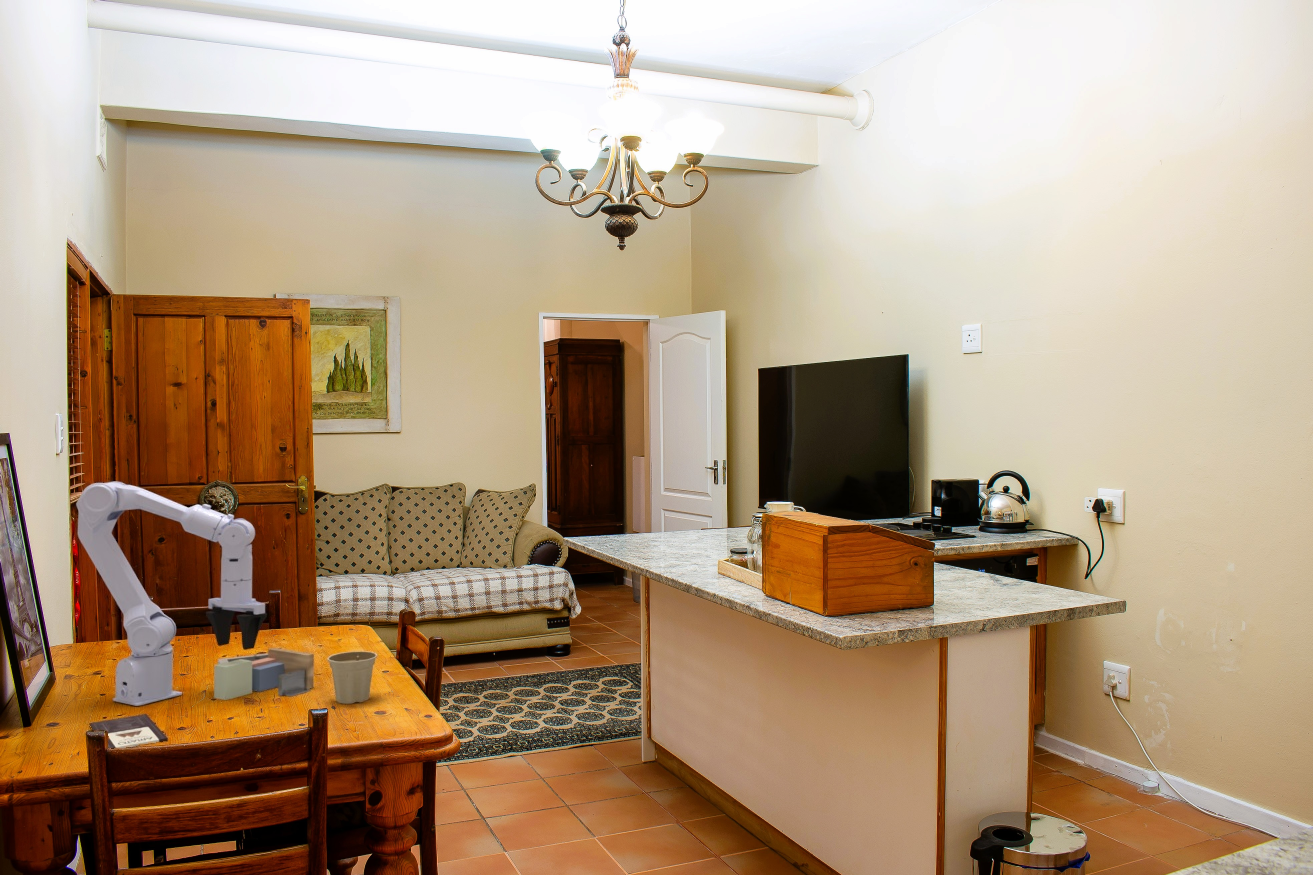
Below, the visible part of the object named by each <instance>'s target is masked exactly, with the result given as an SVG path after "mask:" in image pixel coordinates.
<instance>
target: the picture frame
mask: <svg viewBox="0 0 1313 875" xmlns="http://www.w3.org/2000/svg"><path fill="white" fill-rule="evenodd" d="M264 658H268V653H261V654H251V655H242V656H234V657H225V658H218V659H217V664H222V663H226V662H230V661H235V660H239V659H243V660H249V661H256V660H260V659H264Z"/></svg>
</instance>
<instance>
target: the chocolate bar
mask: <svg viewBox="0 0 1313 875" xmlns="http://www.w3.org/2000/svg"><path fill="white" fill-rule="evenodd" d="M88 725H90V726H91V728H92V730H106V731H107V732H108V736H109V740H108V748H111V749H114V748H126V747H133V748H137V747H136V746H138V747H143V746H145V745H140V746H139V744H148V743H155V744H157V743H156V742H161V743H164V742H163V741H166V742H168V741H169V738H168V736H167V735H166V734H165V733H164V732H163V731H162V729H160V727H159V726H157V725H158V724H156V723H155V721H153V720H152V719H151V718H150V716H149V715H148V714H147V713H143V714H138V715H130V716H125V717H120V718H118V717H117V718H112V719H107V720H100V721H93V722H89V723H88ZM90 726H89V727H90ZM91 728H90V729H91ZM92 730H91V731H92Z"/></svg>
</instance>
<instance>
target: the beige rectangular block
mask: <svg viewBox="0 0 1313 875" xmlns="http://www.w3.org/2000/svg"><path fill="white" fill-rule="evenodd" d="M213 678H214V679H213V680H214V682H213V685H214V686H213V687H214V688H213V695H214V696H213V698H214V699H218V700H223V701H227V700H231V699H235V698H238V697H243V696H246V695H249V694H252V693H253V690H252V661H249V660H243V659H239V660H235V661H230V662H226V663H222V664H218V663H217V664H214V676H213Z"/></svg>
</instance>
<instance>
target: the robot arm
mask: <svg viewBox="0 0 1313 875" xmlns="http://www.w3.org/2000/svg"><path fill="white" fill-rule="evenodd" d="M75 505H76V508H77V510H78V516H77V517H78V518H77V537H78V539H79V541H80V543H81V544H82V546H83V548H84V549H85V551H86V553H87V554H88V556H89V558H90V560H91V562H92V563H93V565H94V567H95V568H96V570H97V571H98V573H99V575H100V576H101V578H102V580H103V582H104V584H105V586H106V587H107V589H108V590H109V592H110V594H111V595H112V597H113V599H114V600H115V602H116V605H117V606H118V608H119V609H120V611H121V612H122V614H123V628H124V629H125V631H126V634H127V645H128V647H129V649H130V650H131V651H130V652H131V653H130V655H128V657H125V658H122V659H120V660H119V661H118V663H117V665H116V668H115V697H114V698H112V701H113V702H117V703H122V704H126V705H129V706H130V705H132V706H135V707H138V706H143V705H147V704H151V703H154V702H155V703H156V702H159V701H163V700H167V699H171V698H174V697H178V696H182V695H183V692H182V691H177V690H173V667H174V666H173V663H174V662H173V658H174V657H173V655H174V654H173V653H174V650H173V649H174V648H173V646H172V644H171V642H172V641H173V640H174V638H175V636H176V633H177V626H176V623H175V622H174V620H173V619H172V618H171V617H169V616H168V615H166V614H164V612H163V611H162V609H161V608H160V607H159V605H157V604H156V603H154V602H153V601H152V600H151V599H150V597H149V595H148V594H147V591H146V590H145V589H144V587H143V585H142V583H141V582H140V580H139V579H138V577H137V575H136V573H135V571H134V569H133V568H132V566H131V564H130V562H129V561H128V560H127V557H126V556H125V554H124V553H123V550H122V549H121V547H120V545H119V543H118V542H117V541H116V540H117V539H116V538H115V537H114V535H113V534H112V533H113V530H114V527H115V525H116V523H117V521H118V519H119V518H120V516H121V515H122V514H123V513H124V512H125V511H128V510H142V511H146V512H149V513H152V514H155V515H157V516H160V517H163V518H166V519H170V520H173V521H176V522H178V523H180V524H181V526H182V528H183V530H184V532H187V533H190V534H193V535H194V536H198V537H201V538H203V539H206V540H209V541H211V542H213V543H218V544H219V545H220V546H221V565H220V566H221V567H220V568H221V569H220V570H221V571H220V572H221V573H220V597H214V598H208V609H210V610H209V611H206V612H205V616H206V618H207V619H208V620H209V622H210V624H211V626H212V629H213V633H214V636H215V639H216V643H217V645H218V646H219V647H221V646H225V645H229V644H230V640H231V630H232V625H233V624H232V623H233V619H234V616H235V613H236V612H241V613H242V614H237V615H236V619H237V621H238V623H239V627H240V628H239V629H240V632H241V645H242V648H243V649H242V650H251V649H254V648H255V646H256V643H257V638H258V635H259V632H260V630H261V627H262V626H263V624H264V621H265V620H266V619H267V616H268V615H267V614H268V613H267V612H266V603H264V602H260V601H257V600H256V598H253V554H252V552H253V549H252V548H253V544H251V543H252V542H253V540H254V539H255V536H256V530H255V527H254V526H253V524H252V523H251V522H250V521H248V520H246V519H245V518H235V515H234V514H231V513H228V514H227V515H226V514H225V513H222V512H219V511H217V510H213V509H211V508H212V505H210V504H207V503H204V504H202V505H201V504H195V505H192V506H190V507H187V506H185V505H183V504H181V503H179V502H175V501H173V500H172V499H169V498H166V497H164V496H162V495H159V494H156V493H154V492H152V491H149V490H146V489H145V488H142V487H139V486H135V485H131V484H126V483H123V482H122V481H116V480H115V481H109V482H104V483H103V482H96V483H95V482H94V483H91V484H90V485H88V486H86V487H85V488H84V490H82V493H81V494H80V496H79V498H78V500H77V501H76V503H75ZM234 518H235V519H234Z"/></svg>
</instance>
